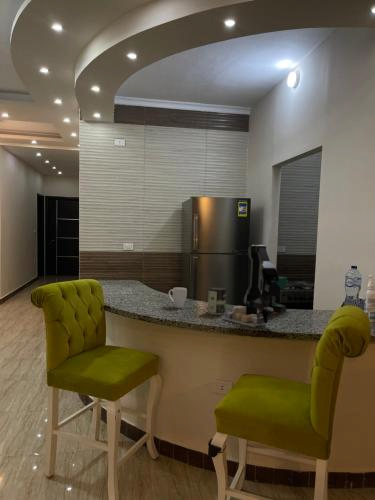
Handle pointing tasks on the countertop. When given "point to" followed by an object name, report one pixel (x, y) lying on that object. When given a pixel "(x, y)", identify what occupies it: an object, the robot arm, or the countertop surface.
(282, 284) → the power tool
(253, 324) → the vise base
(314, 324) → the countertop surface
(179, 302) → the mug
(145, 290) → the countertop surface
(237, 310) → the maple block
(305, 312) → the countertop surface
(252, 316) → the sliding jaw
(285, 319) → the countertop surface
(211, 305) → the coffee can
